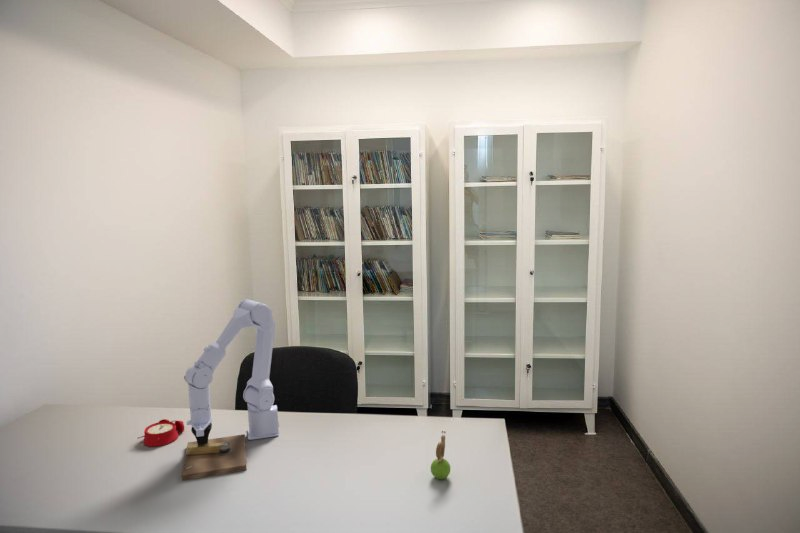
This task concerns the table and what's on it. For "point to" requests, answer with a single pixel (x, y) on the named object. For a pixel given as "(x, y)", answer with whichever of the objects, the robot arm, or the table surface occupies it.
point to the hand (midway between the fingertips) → (203, 448)
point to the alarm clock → (162, 432)
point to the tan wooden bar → (208, 448)
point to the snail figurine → (440, 461)
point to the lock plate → (216, 459)
